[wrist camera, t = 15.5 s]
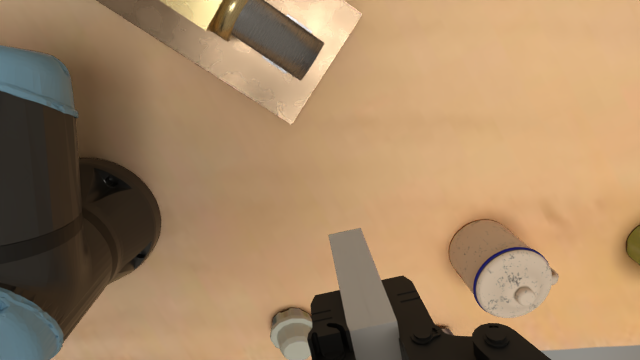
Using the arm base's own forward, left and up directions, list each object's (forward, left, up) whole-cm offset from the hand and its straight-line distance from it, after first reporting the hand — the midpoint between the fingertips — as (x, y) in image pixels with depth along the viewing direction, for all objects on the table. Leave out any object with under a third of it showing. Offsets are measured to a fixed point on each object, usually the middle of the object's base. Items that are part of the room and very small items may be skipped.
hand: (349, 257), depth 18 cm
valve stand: (-8, +17, -30) cm, 36 cm away
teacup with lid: (+20, -21, -31) cm, 42 cm away
